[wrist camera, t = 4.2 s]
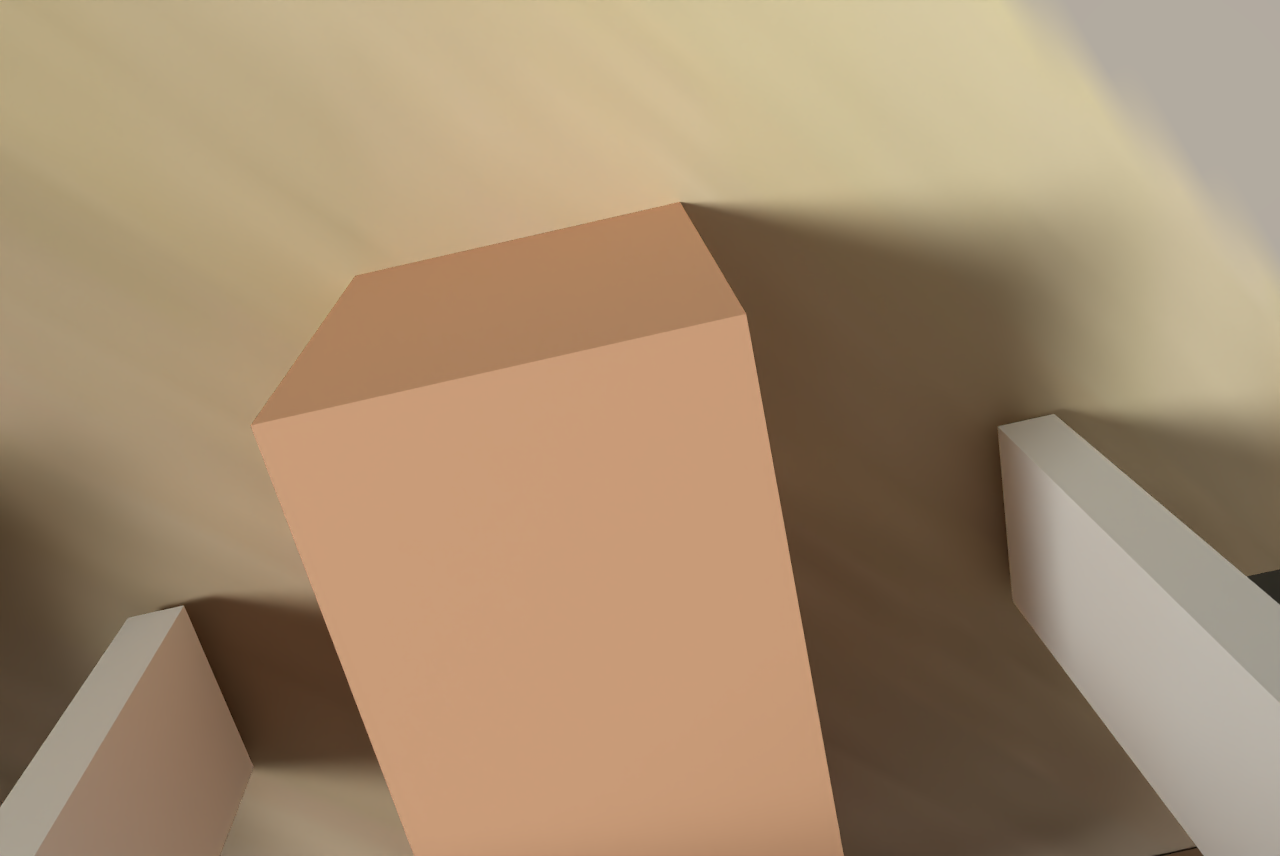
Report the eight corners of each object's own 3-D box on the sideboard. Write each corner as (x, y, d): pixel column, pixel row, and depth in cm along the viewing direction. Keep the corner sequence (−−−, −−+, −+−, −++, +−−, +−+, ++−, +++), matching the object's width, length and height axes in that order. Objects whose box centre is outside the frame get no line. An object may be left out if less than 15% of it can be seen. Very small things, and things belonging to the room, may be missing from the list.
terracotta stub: (357, 272, 13) (250, 425, 9) (678, 199, 13) (747, 313, 9) (552, 883, 17) (552, 1218, 12) (802, 828, 17) (896, 1143, 12)
